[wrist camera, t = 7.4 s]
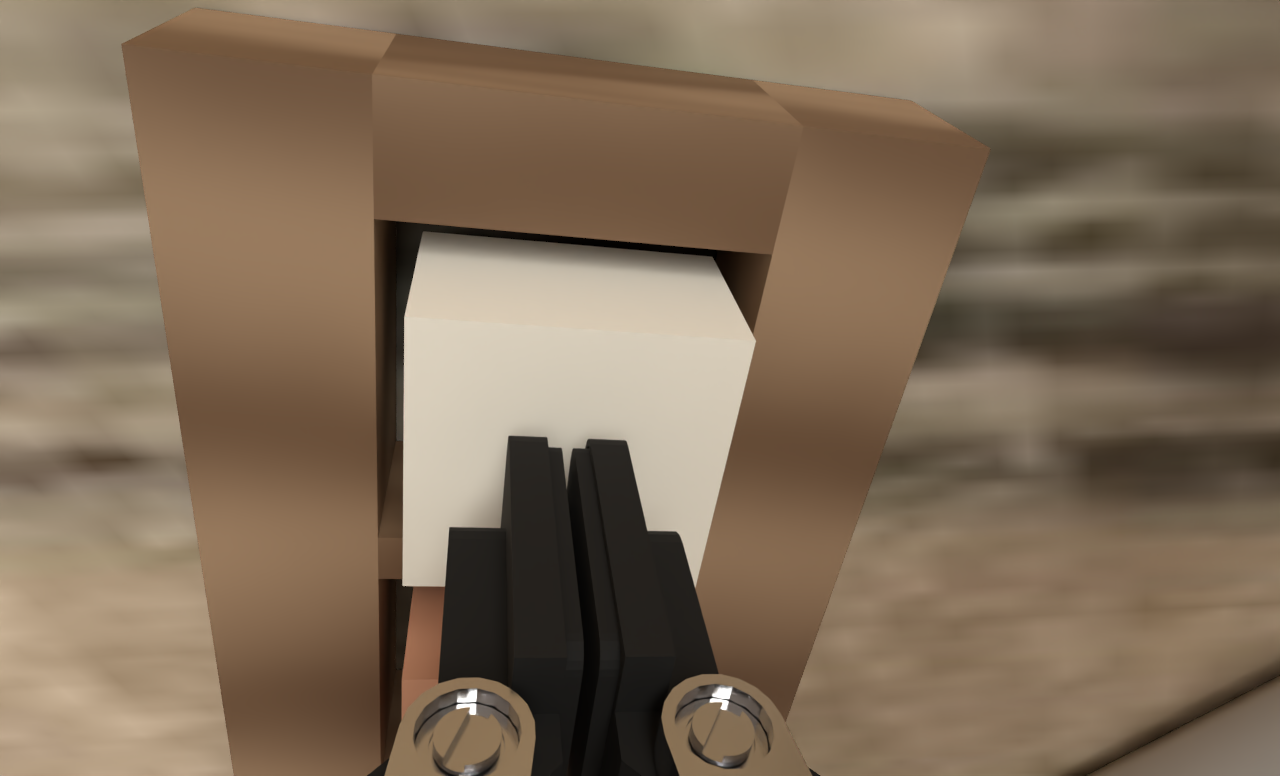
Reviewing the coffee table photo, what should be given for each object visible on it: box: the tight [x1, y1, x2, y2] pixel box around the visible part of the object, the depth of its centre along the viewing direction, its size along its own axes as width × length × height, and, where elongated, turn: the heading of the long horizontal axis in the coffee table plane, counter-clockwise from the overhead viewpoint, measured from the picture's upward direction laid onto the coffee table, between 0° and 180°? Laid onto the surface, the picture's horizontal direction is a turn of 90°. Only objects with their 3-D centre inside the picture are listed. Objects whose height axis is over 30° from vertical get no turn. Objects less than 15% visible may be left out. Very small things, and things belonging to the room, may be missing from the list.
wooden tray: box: [122, 8, 991, 776], centre depth 19 cm, size 24×12×3 cm, turn 171°
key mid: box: [402, 586, 445, 719], centre depth 18 cm, size 5×5×3 cm
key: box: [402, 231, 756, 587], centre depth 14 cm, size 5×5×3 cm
